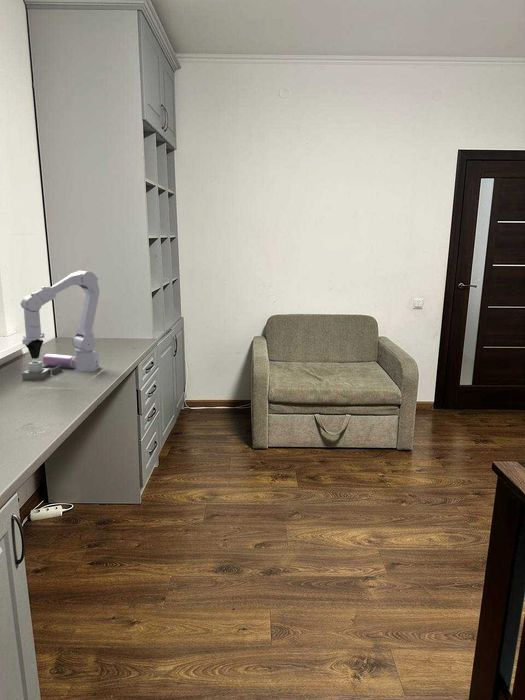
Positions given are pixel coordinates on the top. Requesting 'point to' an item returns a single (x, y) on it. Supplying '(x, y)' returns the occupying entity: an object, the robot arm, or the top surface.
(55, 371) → the holster
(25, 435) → the top surface
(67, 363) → the beverage can
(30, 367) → the plug
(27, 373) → the port
